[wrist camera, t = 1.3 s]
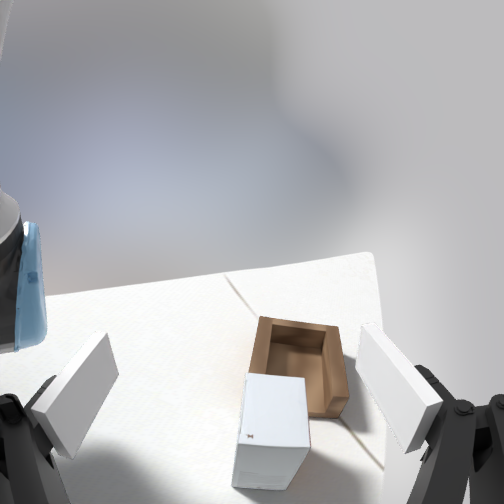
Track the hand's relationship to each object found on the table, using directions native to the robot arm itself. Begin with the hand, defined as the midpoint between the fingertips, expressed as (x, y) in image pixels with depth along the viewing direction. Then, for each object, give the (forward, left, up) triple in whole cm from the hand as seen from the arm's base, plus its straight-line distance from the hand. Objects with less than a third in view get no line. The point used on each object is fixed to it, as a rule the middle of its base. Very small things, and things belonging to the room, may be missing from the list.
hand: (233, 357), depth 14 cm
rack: (+6, +18, -20) cm, 28 cm away
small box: (+3, +4, -20) cm, 21 cm away
